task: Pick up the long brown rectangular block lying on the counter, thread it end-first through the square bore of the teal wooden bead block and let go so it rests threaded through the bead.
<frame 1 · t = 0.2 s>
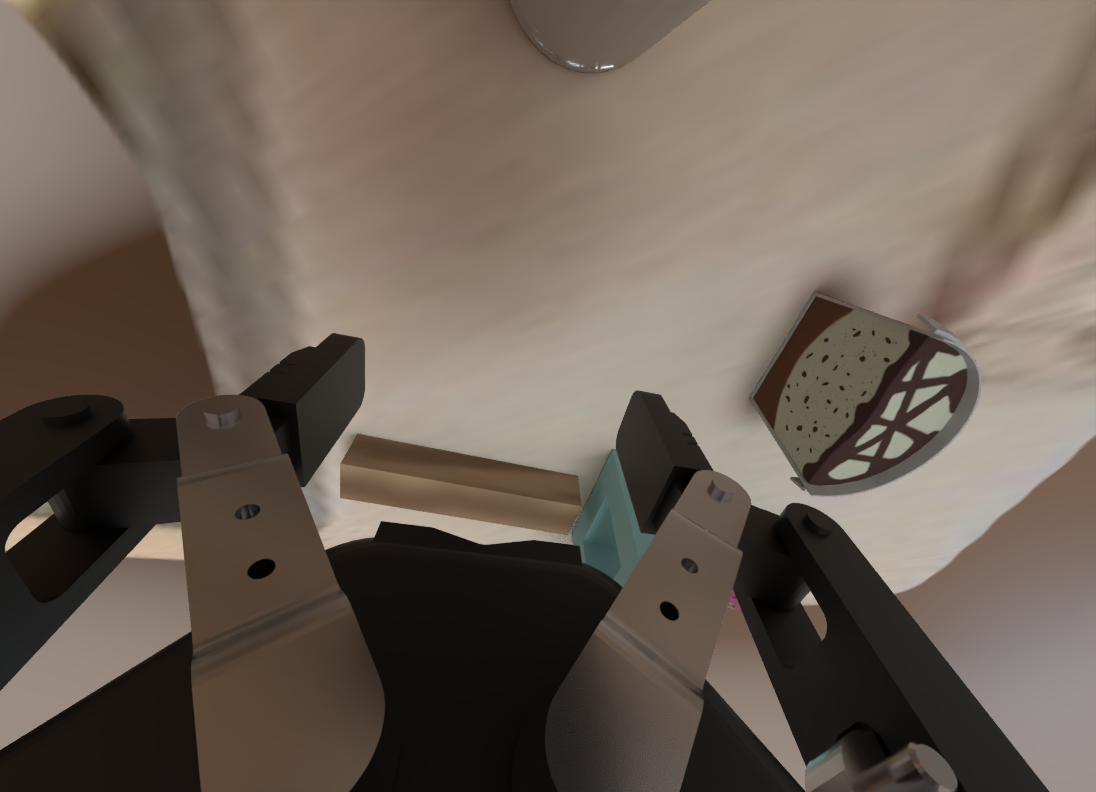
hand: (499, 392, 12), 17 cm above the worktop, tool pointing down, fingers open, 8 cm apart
food container: (811, 355, 32), on the worktop
brown rectangular block: (469, 469, 37), on the worktop
bead: (614, 498, 40), on the worktop
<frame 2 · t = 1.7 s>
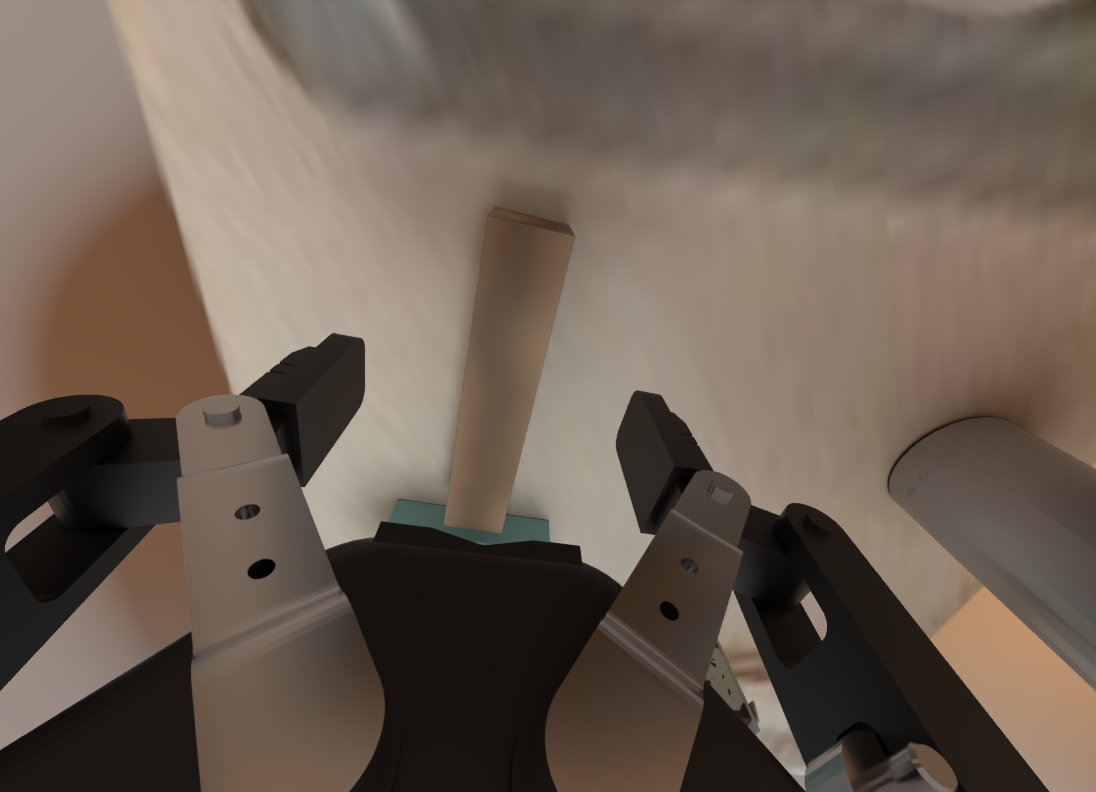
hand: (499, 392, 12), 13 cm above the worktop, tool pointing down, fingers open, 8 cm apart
food container: (646, 618, 40), on the worktop
brown rectangular block: (501, 377, 26), on the worktop
bead: (471, 531, 33), on the worktop
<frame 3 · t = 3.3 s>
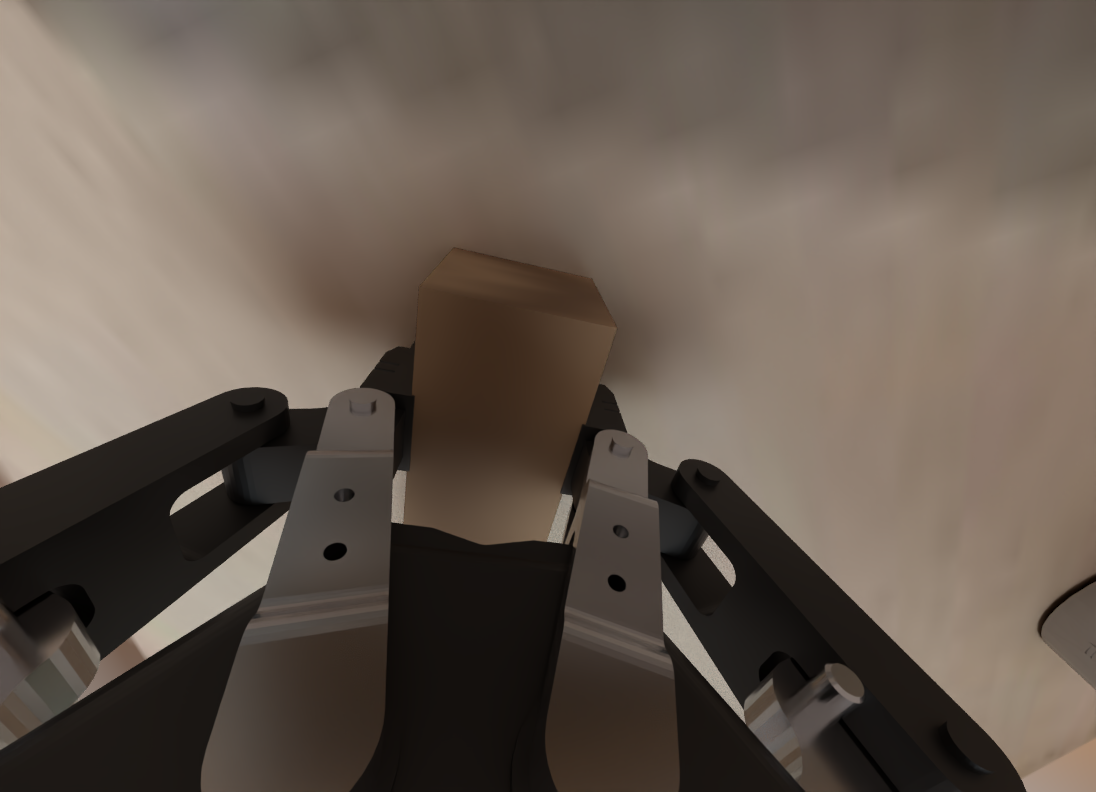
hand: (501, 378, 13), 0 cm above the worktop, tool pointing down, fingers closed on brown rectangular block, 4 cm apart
brown rectangular block: (477, 510, 16), on the worktop, touching gripper
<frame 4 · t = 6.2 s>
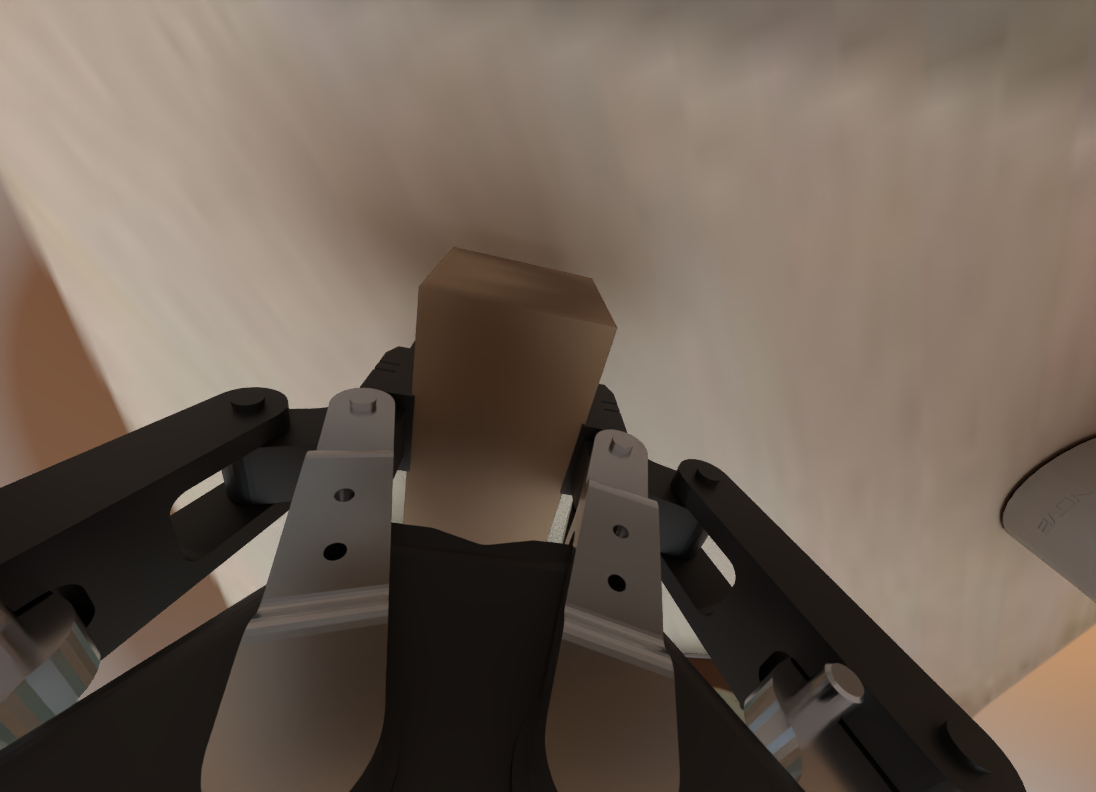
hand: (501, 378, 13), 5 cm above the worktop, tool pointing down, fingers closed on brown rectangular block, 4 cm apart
food container: (679, 670, 33), on the worktop
brown rectangular block: (476, 509, 16), point 5 cm above the worktop, touching gripper
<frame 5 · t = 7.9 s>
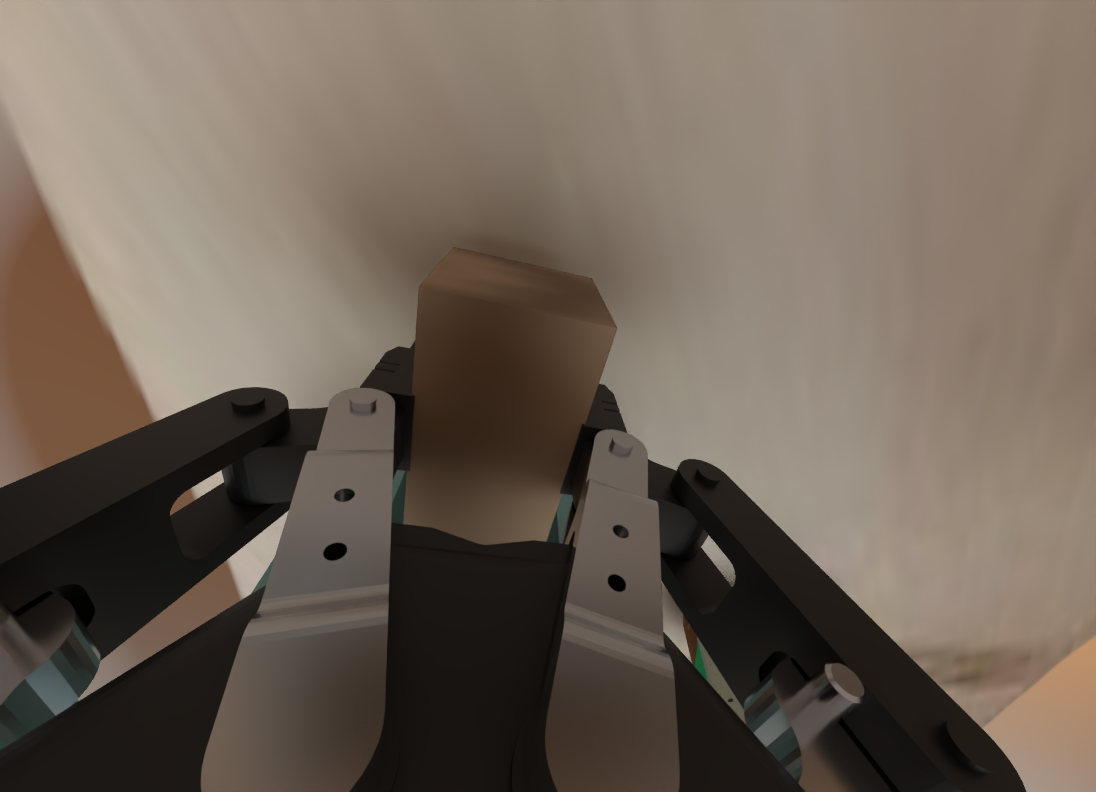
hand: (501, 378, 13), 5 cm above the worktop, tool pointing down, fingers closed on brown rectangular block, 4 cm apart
food container: (727, 607, 29), on the worktop
brown rectangular block: (476, 510, 16), point 5 cm above the worktop, touching gripper
bead: (482, 474, 21), on the worktop
when the fingers open (5 cm above the worktop, at t = 9.4 s): brown rectangular block drops 1 cm, resting on bead.
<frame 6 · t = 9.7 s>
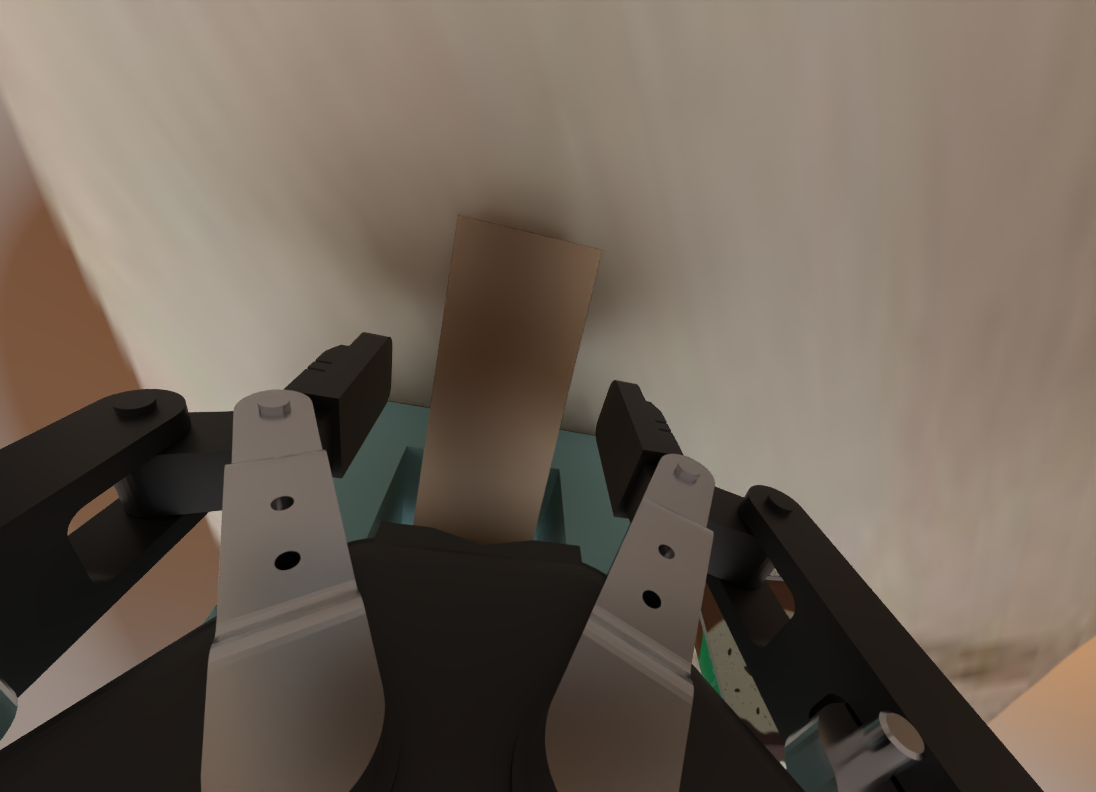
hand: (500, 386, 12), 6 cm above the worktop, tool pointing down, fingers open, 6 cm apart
food container: (731, 598, 28), on the worktop
brown rectangular block: (480, 485, 17), point 3 cm above the worktop, tilted 14°, touching bead
bead: (483, 457, 21), on the worktop
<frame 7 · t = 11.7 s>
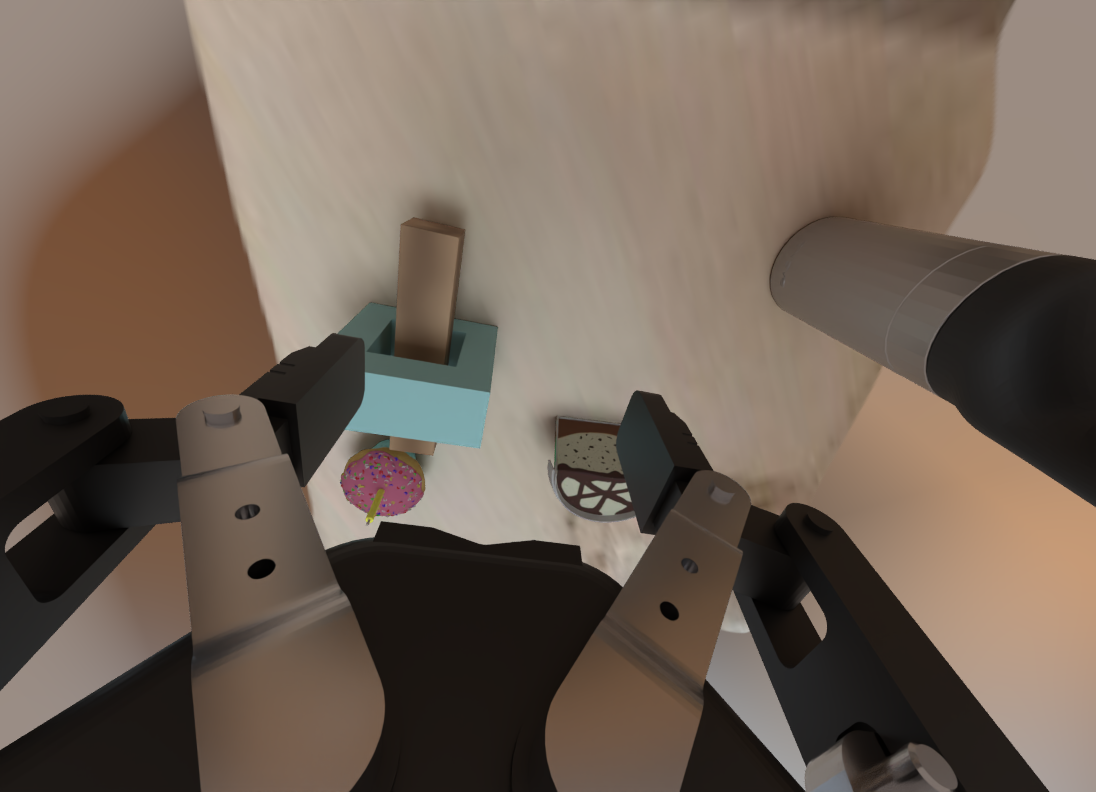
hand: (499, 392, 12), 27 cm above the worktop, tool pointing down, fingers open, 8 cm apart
food container: (589, 440, 47), on the worktop
brown rectangular block: (428, 339, 36), point 3 cm above the worktop, touching bead
bead: (433, 338, 39), on the worktop
cupcake: (396, 455, 47), on the worktop
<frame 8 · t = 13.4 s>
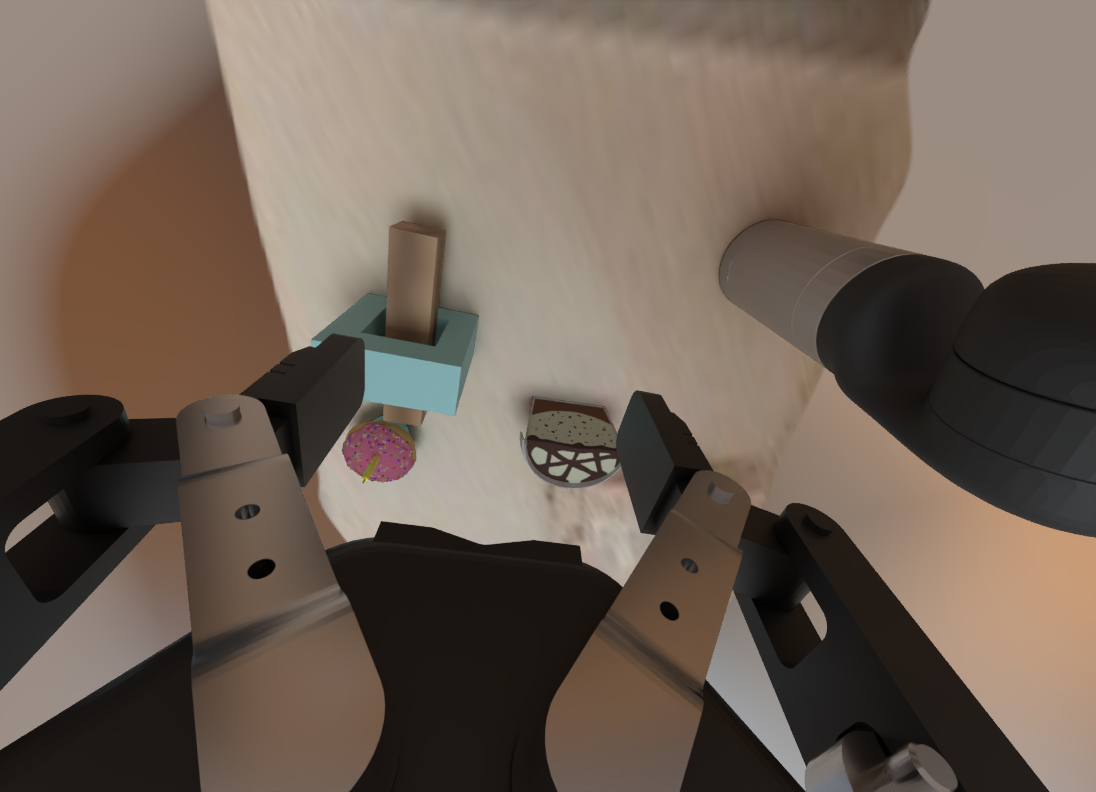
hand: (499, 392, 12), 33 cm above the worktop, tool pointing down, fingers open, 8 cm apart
food container: (564, 420, 53), on the worktop
brown rectangular block: (417, 325, 42), point 3 cm above the worktop, touching bead
bead: (422, 325, 45), on the worktop
cupcake: (392, 429, 53), on the worktop
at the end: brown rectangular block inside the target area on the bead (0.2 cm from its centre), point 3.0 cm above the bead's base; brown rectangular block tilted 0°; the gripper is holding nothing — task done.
